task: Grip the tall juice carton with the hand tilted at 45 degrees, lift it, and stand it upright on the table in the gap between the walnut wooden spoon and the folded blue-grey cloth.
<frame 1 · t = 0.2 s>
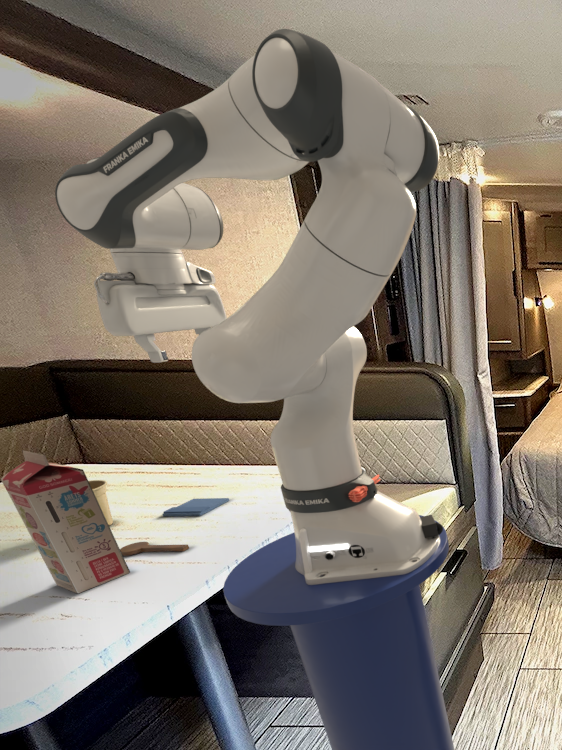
hand: (184, 358, 88), 33 cm above the table, tool pointing down, fingers open, 8 cm apart
cloth: (197, 508, 109), on the table
juice carton: (94, 579, 83), on the table
flower pot: (92, 529, 101), on the table
wooden spoon: (157, 550, 92), on the table
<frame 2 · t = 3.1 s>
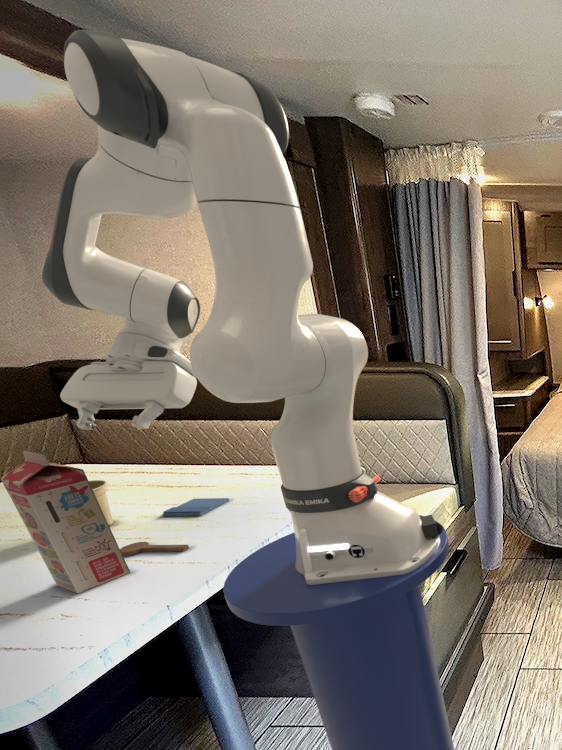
hand: (111, 427, 86), 22 cm above the table, tool tilted 45°, fingers open, 8 cm apart
nothing on the table moved.
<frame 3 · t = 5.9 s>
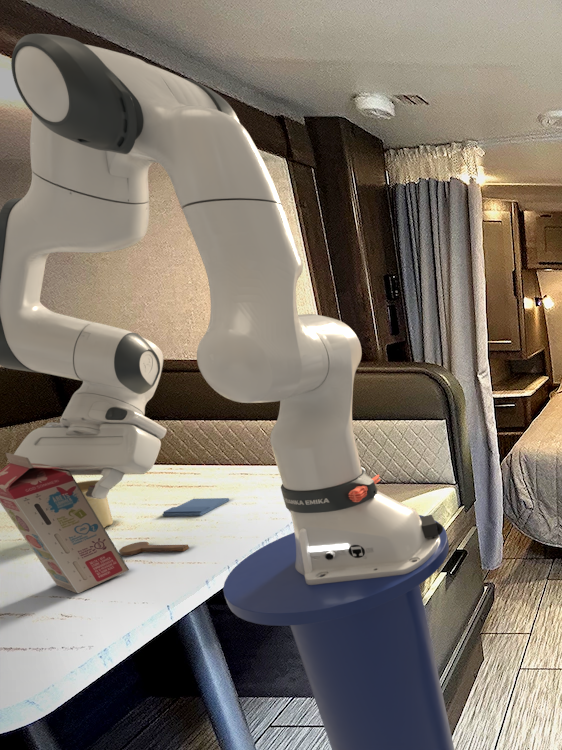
hand: (65, 498, 79), 14 cm above the table, tool tilted 45°, fingers open, 8 cm apart
juice carton: (94, 578, 83), on the table, touching gripper
everything else where it was.
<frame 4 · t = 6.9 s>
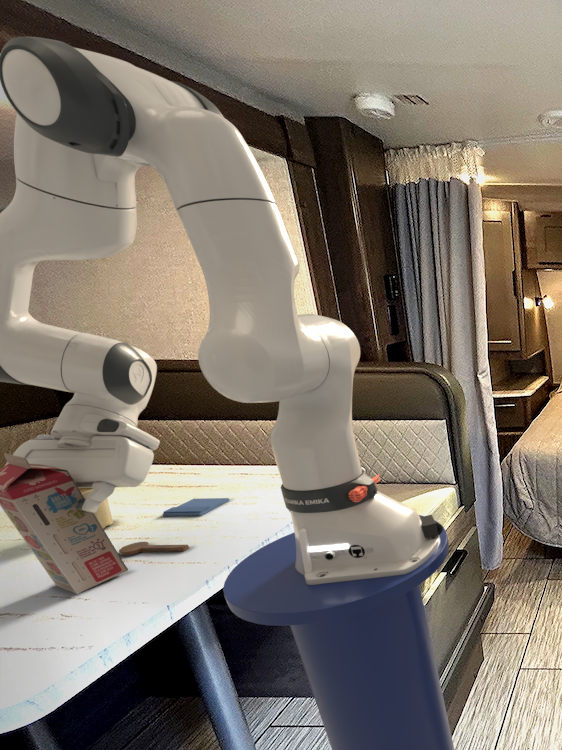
hand: (56, 512, 78), 12 cm above the table, tool tilted 45°, fingers closed on juice carton, 8 cm apart
juice carton: (93, 578, 83), on the table, touching gripper
everything else where it was.
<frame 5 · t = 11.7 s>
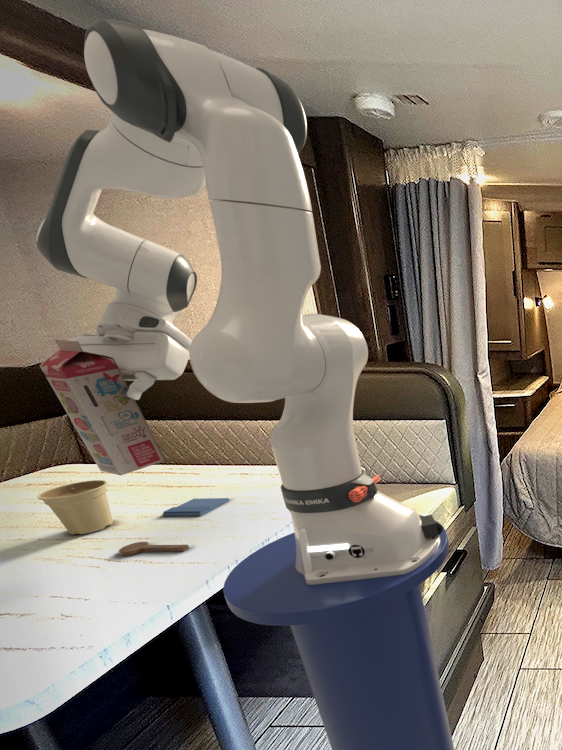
hand: (102, 398, 85), 27 cm above the table, tool tilted 45°, fingers closed on juice carton, 8 cm apart
juice carton: (134, 466, 90), point 15 cm above the table, touching gripper
everything else where it was.
when the fingers open (13 cm above the table, at t = 17.2 s): juice carton stays where it is, on the table.
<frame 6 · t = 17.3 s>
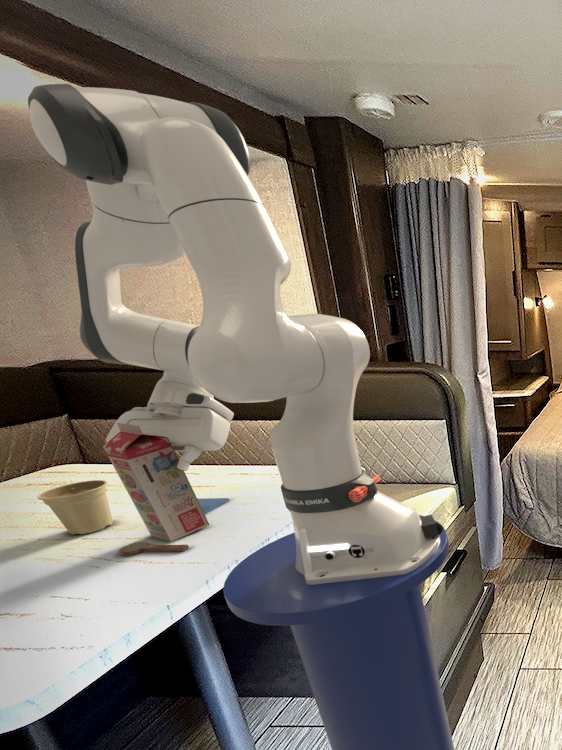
hand: (154, 470, 93), 13 cm above the table, tool tilted 45°, fingers open, 8 cm apart
juice carton: (181, 531, 99), on the table, touching gripper
everything else where it was.
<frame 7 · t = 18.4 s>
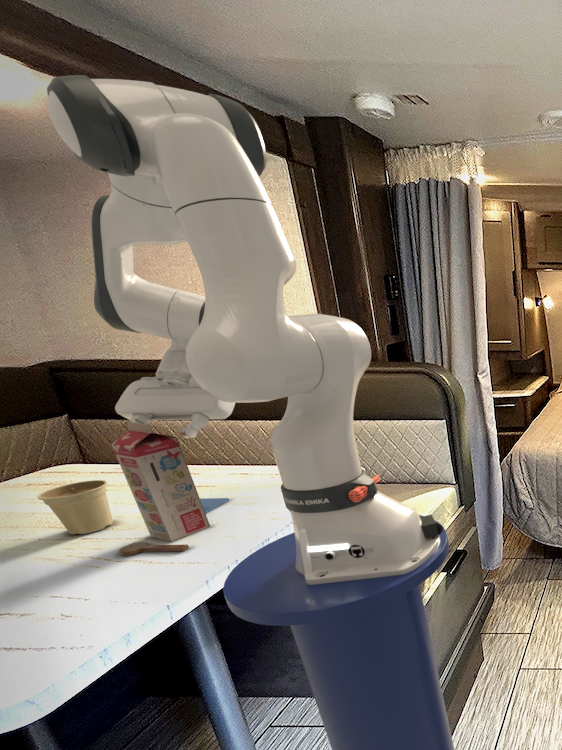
hand: (162, 437, 95), 18 cm above the table, tool tilted 45°, fingers open, 8 cm apart
juice carton: (181, 532, 99), on the table
everything else where it was.
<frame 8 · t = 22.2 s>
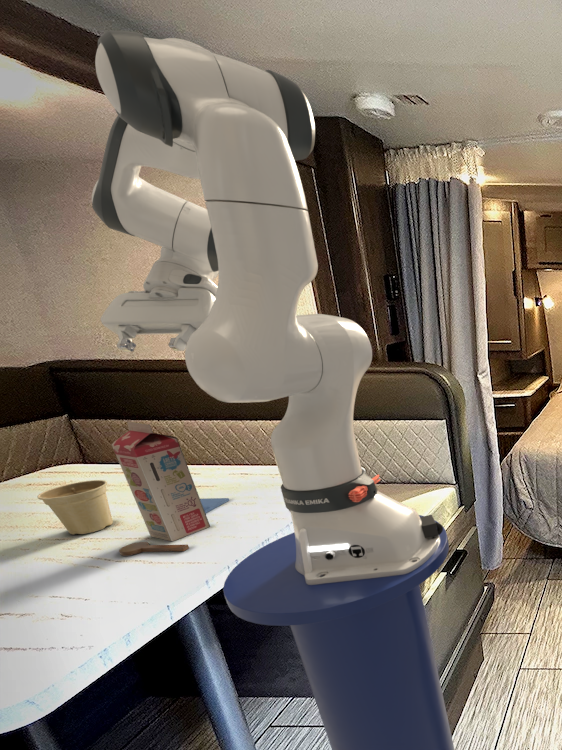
hand: (150, 349, 91), 34 cm above the table, tool tilted 45°, fingers open, 8 cm apart
nothing on the table moved.
at the end: juice carton inside the target area on the table beside the cloth (0.1 cm from its centre), on the table; juice carton tilted 0°; the gripper is holding nothing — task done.
